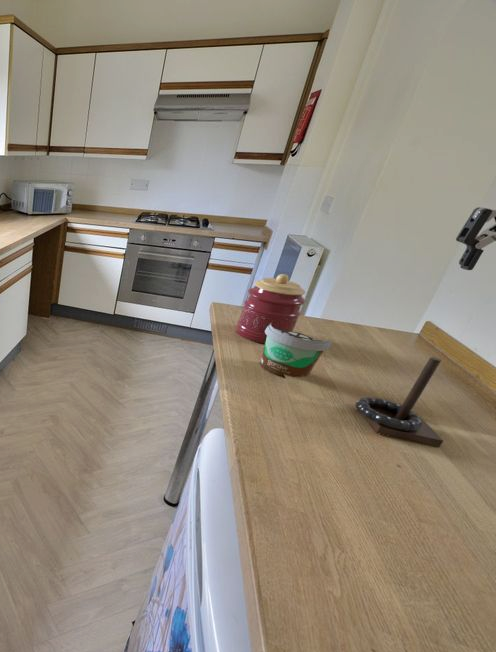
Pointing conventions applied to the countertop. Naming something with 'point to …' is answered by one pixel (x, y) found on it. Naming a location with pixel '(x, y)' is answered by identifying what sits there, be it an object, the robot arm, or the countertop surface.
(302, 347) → the food container
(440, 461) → the countertop surface
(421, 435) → the brown peg stand
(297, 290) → the kitchen canister
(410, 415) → the dark grey ring
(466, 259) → the robot arm
